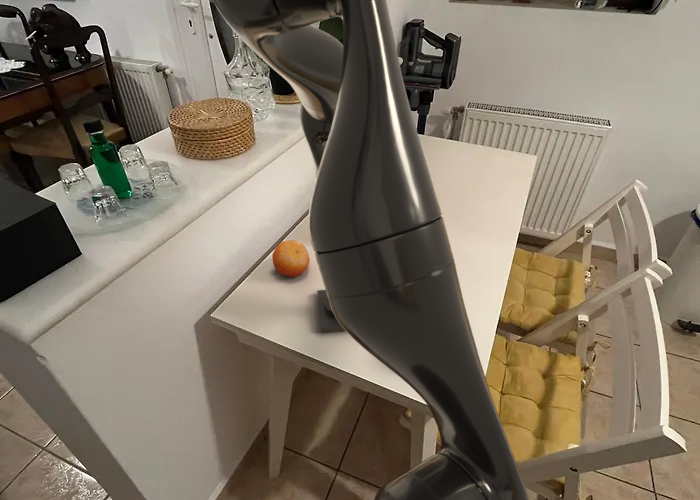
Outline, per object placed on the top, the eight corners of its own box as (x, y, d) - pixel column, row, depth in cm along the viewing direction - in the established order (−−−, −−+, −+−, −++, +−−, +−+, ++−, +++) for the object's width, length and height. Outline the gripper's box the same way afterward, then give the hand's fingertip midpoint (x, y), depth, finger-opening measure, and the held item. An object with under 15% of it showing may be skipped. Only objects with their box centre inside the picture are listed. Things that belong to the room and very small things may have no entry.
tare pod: (362, 329, 82) (363, 319, 80) (321, 333, 81) (320, 322, 79) (355, 292, 89) (356, 281, 88) (317, 295, 89) (316, 284, 87)
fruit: (273, 249, 97) (288, 228, 92) (302, 268, 99) (319, 248, 93) (258, 272, 91) (273, 251, 86) (290, 292, 93) (306, 273, 87)
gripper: (312, 192, 75) (316, 266, 86) (318, 240, 65) (321, 316, 76) (355, 190, 75) (353, 263, 87) (367, 237, 65) (363, 313, 77)
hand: (338, 288), depth 81 cm, fingers closed
